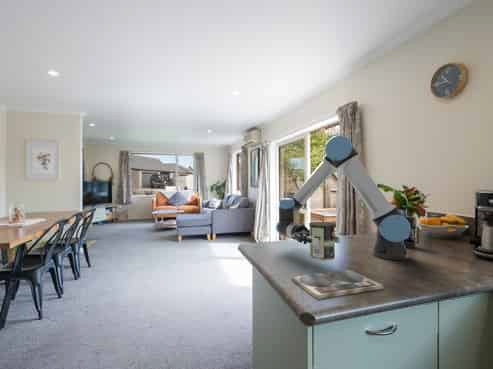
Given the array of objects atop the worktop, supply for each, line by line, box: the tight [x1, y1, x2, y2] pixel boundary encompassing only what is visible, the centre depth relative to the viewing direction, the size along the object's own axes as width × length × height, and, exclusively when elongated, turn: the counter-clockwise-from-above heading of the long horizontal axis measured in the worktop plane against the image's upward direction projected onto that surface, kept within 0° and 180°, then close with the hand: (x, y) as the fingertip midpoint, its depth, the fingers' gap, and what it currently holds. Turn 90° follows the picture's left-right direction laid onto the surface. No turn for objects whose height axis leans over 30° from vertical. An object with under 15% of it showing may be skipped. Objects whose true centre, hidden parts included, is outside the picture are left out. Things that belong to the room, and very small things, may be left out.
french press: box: [402, 205, 420, 249], centre depth 148 cm, size 12×9×23 cm
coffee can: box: [308, 221, 336, 262], centre depth 109 cm, size 10×10×14 cm
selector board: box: [291, 269, 384, 300], centre depth 92 cm, size 26×16×2 cm, turn 109°
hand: (328, 241), depth 105 cm, fingers closed on coffee can, 10 cm apart
